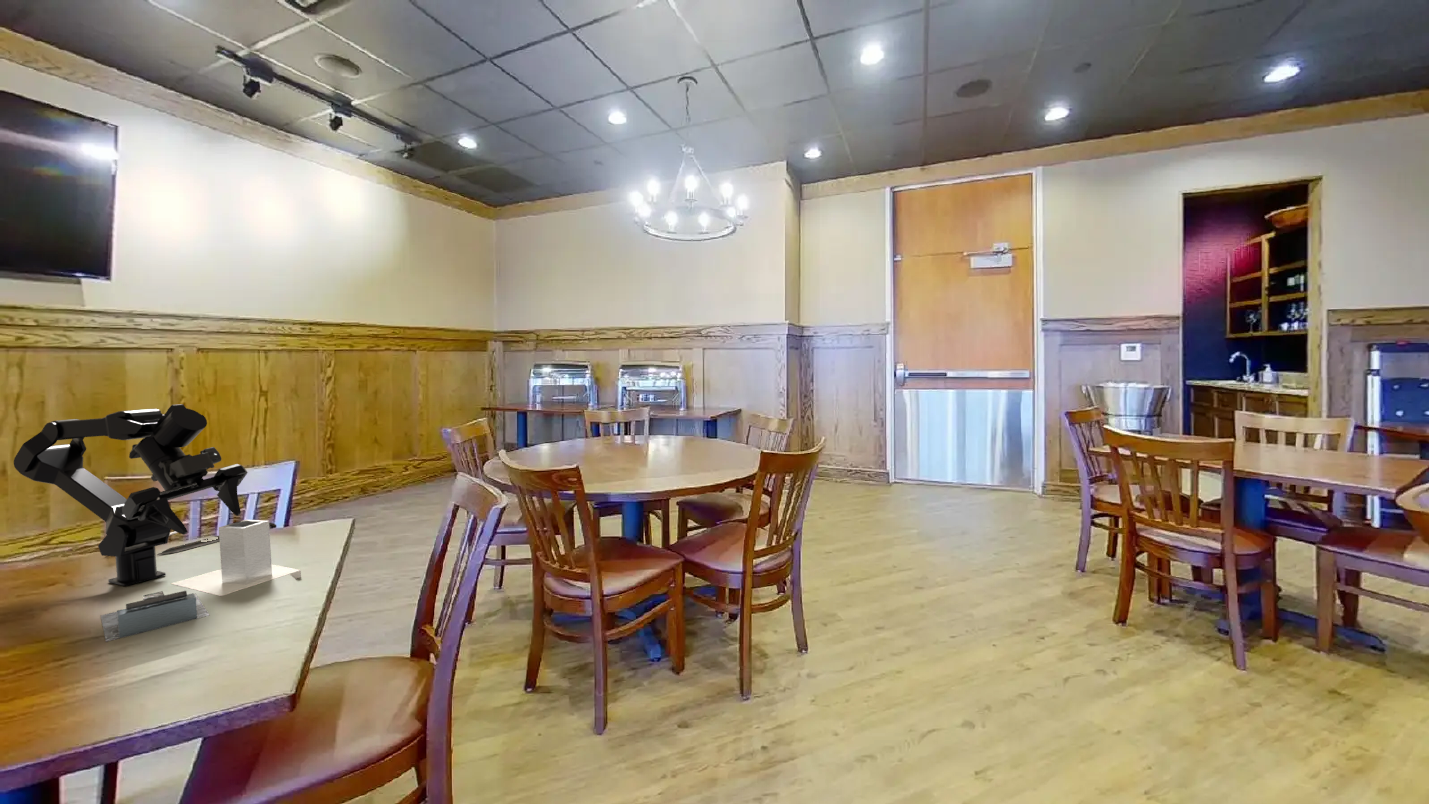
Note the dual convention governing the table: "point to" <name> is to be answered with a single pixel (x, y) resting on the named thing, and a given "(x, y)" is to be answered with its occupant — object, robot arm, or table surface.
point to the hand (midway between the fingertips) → (213, 523)
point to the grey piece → (152, 614)
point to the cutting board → (215, 586)
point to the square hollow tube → (245, 551)
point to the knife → (195, 544)
